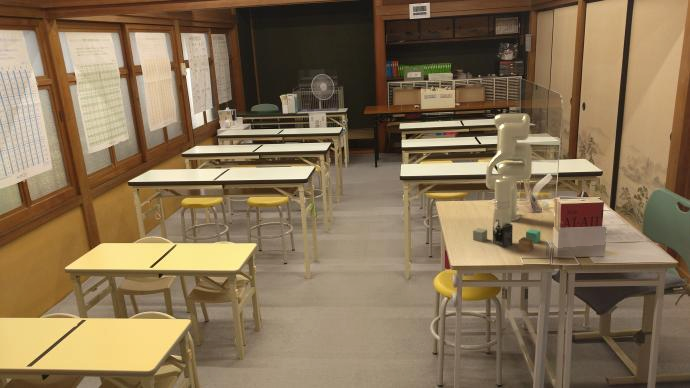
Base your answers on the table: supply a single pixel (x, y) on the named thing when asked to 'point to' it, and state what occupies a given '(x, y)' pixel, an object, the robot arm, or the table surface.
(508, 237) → the box
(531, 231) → the teal cube
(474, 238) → the slate cube
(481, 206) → the table surface
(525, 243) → the walnut cube
